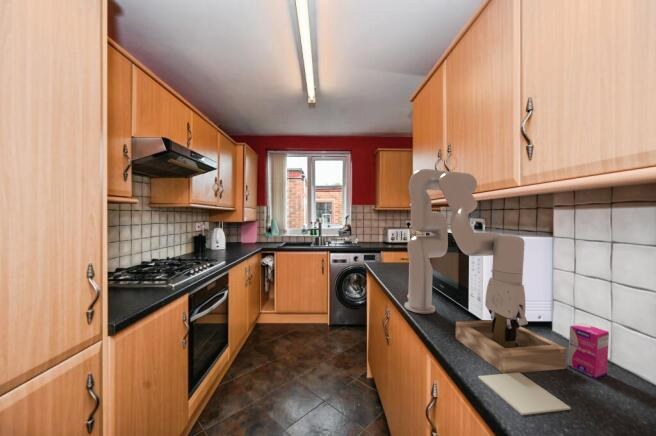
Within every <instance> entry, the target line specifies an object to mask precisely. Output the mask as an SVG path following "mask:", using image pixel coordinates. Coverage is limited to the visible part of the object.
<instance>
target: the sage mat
mask: <svg viewBox="0 0 656 436" xmlns="http://www.w3.org/2000/svg"><path fill="white" fill-rule="evenodd" d="M477 379H479V380H480V381H481V382H482V383H483V384H484V385H485V386H487V387H488V388H489V389H491V390H492V391H493V392H494V393H495V395H497V396H499V397H500V399H502V400H503V401H505V403H507V404H508V405H509V406H510V407H512V408H513V409H514V410H515V411H516V412H517V413H519V415H520V416H528V415H537V414H543V413H552V412H560V411H567V410H569V411H570V410H571V409H572V408H571V406H569V405H567V404H566V403H564V402H563V401H562V400H560V399H559V398H557V397H555V395H553V394H552V393H550V392H549V391H547V390H546V389H544V388H543V387H542V386H540V385H538V383H536V382H534V381H532V380H531V379H530V378H528V377H526V376H525V375H524V374H522V372H521V373H508V374H503V373H500V374H499V373H498V374H490V375H489V374H487V375H478V376H477Z"/></svg>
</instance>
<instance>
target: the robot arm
mask: <svg viewBox="0 0 656 436" xmlns="http://www.w3.org/2000/svg"><path fill="white" fill-rule="evenodd" d="M477 187H478V182H477V178H476V177H475V176H474V175H472V174H471V173H466V172H459V171H448V170H447V171H446V170H441V169H440V170H438V169H433V168H432V169H431V168H423V169H422V168H421V169H418V170H416V171H414V172H413V173H412V174H411V176H410V178H409V181H408V192H409V197H410V227H411V229H412V231H414V232H416V233H421V234H423V233H424V234H426V233H427V234H428V233H429V235H416V236H413V237H411V238H410V239H409V240H408V241H407V253H408V263H409V264H408V293H407V295H406V297H407V301H405V302H404V308H405V309H406V310H408V311H411V312H412V313H417V314H427V315H428V314H433V313H435V312H436V307H435V306H434V305H433V304H432V297H433V295H432V294H433V265H432V264H431V262H430V258H432V259H433V258H441V257H443V256H445V255H446V254H447V252H448V246H449V242H448V241H449V239H448V238H449V237H448V236H449V233H448V230H449V229H448V220H447V217H446V216H445V214H443V213H442V212H440V211H432V199H431V197H430V196H431V195H429V193H428V192H427V191H428V190H429V191H437V192H438V191H439V192H441V193H442V195H443V197H444V199H445V201H446V203H447V205H448V207H449V209H450V211H451V212H452V215H451V219H450V231H451V236H452V237H453V239H454V240H455V243H456V245H457V247H458V248H459V250H460V251H461V252H462V253H463V254H464V255H466V256H469V257H482V256H485V257H486V256H487V257H488V256H489V257H490V256H492V268H491V270H490V272H491V277H490V278H489V279H488V283H487V286H486V287H487V288H486V291H485V293H486V294H485V299H484V300H485V302H484V303H485V304H484V306H485V307H486V309H487V310H488V312H489V314H490V320H492V333H493V331H494V326H495V322H496V318H495V315H494V312H495V313H497V314H499V315H501V316H503V317H505V318H507V327H506V328H505V341H507V342H508V341H516V329H518V328H519V327H520V326H521V327H522V326H526V325H528V324H529V323H528V322H529V321H528V319H527V318H526V293H525V286H524V284H523V279H524V278H523V276H524V275H523V273H524V260H525V259H524V257H525V240H524V238H522V237H520V236H517V235H503V234H498V233H495V232H482V231H481V232H480V231H479V232H475V231H474V229H473V227H472V225H471V223H470V221H469V217H468V215H469V214H470V213H472V212H473V211H475V210H476V209H477V208H478V200H476V198H475V197H474V195H473V193H474V192H476V190H477ZM512 320H514V321H513V323H512Z"/></svg>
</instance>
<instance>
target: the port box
mask: <svg viewBox="0 0 656 436" xmlns="http://www.w3.org/2000/svg"><path fill="white" fill-rule="evenodd" d="M492 335H493V333H492V319H487V320H486V319H485V320H468V321H467V320H465V321H455V339H456V340H457V341H458V342H459V343H461V344H462V345H464V346H466V347H467V348H468V349H469V350H471V351H472V352H474V353H475V354H477V356H479V357H480V358H482V359H483V360H484V361H486V362H487V363H488V364H490V365H491V366H493V368H495V369H497V371H499V372H501V374H508V373H521V374H522V373H531V372H542V371H552V370H555V371H556V370H564V369H565V370H566V365H567V363H566V360H567V347H564V346H562V345H560V344H558V343H556V342H554V341H552V340H550V339H548V338H545V337H544V336H541V335H540V334H537V333H535V332H534V331H531V330H529V329H527V328H525V327H522V326H520V327H519V328H518V329H516V341H514V342H515V344H517V345H518V347H516V346H515V348H504V347H502V346H500V345H499V344H497V343H496V342H494V341H492Z"/></svg>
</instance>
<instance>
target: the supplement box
mask: <svg viewBox="0 0 656 436" xmlns="http://www.w3.org/2000/svg"><path fill="white" fill-rule="evenodd" d="M609 333H610V332H609V331H608V330H604V329H601V328H598V327H594V326H591V325H589V324H586V323H583V322H580V323H577V324H573V325H570V326H569V339H568V343H569V344H568V363H567V366H568V367H569V368H571V369H574V370H575V371H579V372H580V373H582V374H585V375H587V376H589V377H590V378H593V379H595V380H596V379H597V378H598V379H599V378H600V377H603V376H607V375H608V357H609V338H610V337H609V335H610V334H609Z"/></svg>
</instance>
